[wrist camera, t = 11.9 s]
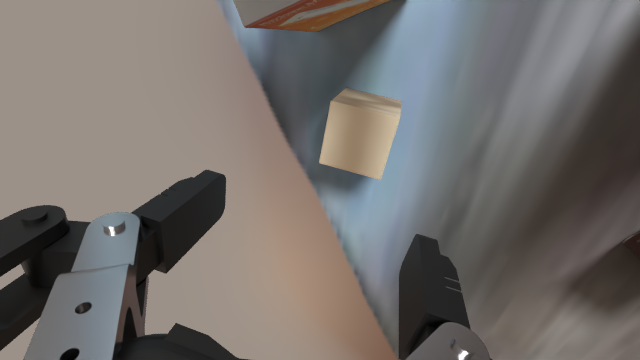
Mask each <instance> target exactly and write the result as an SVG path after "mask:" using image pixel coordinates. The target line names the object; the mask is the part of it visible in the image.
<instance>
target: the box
mask: <svg viewBox="0 0 640 360" xmlns="http://www.w3.org/2000/svg"><path fill="white" fill-rule="evenodd" d="M623 244H624V245H625V246H626V247H628V248H629V249H630V250H631V251H632V252H633V253H634V254H635V255H636V256H637V257H638V258H639V259H640V231H639V232H638V233H636V234H634V235H632V236H630V237H629V238H627V239H626V240H625V241H624V242H623Z"/></svg>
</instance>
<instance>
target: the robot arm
mask: <svg viewBox="0 0 640 360" xmlns="http://www.w3.org/2000/svg"><path fill="white" fill-rule="evenodd" d="M225 193H226V177H225V176H224V175H223V174H220V173H216V172H213V171H210V170H205V171H203V172H202V173H200V174H199V175H197V176H196V177H194V178H192V177H190V178H187V179H184V180H181V181H178V182H177V183H175V184H174V185H172V186H171V187H169V189H166V190H165V191H163V192H162V193H161V194H160V195H157V196H156V197H154V198H153V199H151V200H150V201H148V202H147V203H145V204H144V205H142V206H141V207H139V208H138V209H136V210H135V211H133V212H132V213H127V212H116V213H110V214H106V215H103V216H101V217H99V218H97V219H95V220H93V221H92V222H78V221H68V220H67V217H66V214H65V211H64V210H63V209H62V208H60V207H57V206H51V205H43V206H36V207H31V208H27V209H23V210H21V211H18V212H16V213H14V214H12V215H10V216H8V217H6V218H4V219H2V220H0V277H1V276H2V275H4V274H5V273H7V272H8V271H10V270H11V269H13V268H14V267H16V266H17V265H19V264H21V265H22V267H23V270H24V272H25V273H24V274H23V275H21V276H20V277H19V278H17V279H16V280H14V281H13V282H11V283H10V284H8V285H7V286H6V287H4V288H3V289H1V290H0V351H1V350H2V349H3V348H4V347H5V346H7V345H8V344H9V343H10V342H11V341H13V339H15V338H16V337H17V336H18V335H20V334H21V333H22V332H23V331H24V330H26V329H27V328H28V327H29V326H30V325H31V324H33V323H34V322H35V321H36V320H37V319H39V318H40V320H39V322H38V325H37V327H36V330H35V332H34V334H33V337H32V339H31V342H30V344H29V347H28V349H27V352H26V354H25V356H24V359H23V360H248V359H239V358H237V357H235V356H234V355H232V354H231V353H230V352H229V351H227V350H226V349H225V348H223V347H222V346H221V345H220V344H219V343H217V342H216V341H215V340H213V339H212V338H211V337H210V336H208V335H206V334H203V333H201V332H198V331H195V330H193V329H190V328H187V327H185V326H182V325H180V324H177V323H176V324H175V325H174V326H173V328H172V329H171V330H170V331H169V333H168V334H151V335H145V316H146V304H147V294H148V283H149V277H148V275H149V274H150V273H151V272H152V271H153V270H154V269H155V270H157V271H160V272H163V273H167V272H168V271H169V270H170V269H171V268H172V267H173V266H174V265H175V264H176V263H177V262H178V261H179V260H180V259H181V258H182V257H183V256H184V255H185V254H186V253H187V252H188V251H189V250H190V249H191V248H192V246H193V245H194V244H196V242H198V240H199V239H200V238H201V237H202V236H203V235H204V234H205V233H206V232H207V231H208V230H209V229H210V228H211V227H212V226H213V225H214V224H215V223H216V222H217V221H218V220H219V219H220V218H221V216H222V214H223V212H224V209H225ZM458 282H459V279H458V275H457V271H456V268H455V267H454V265H453V264H452V262H451V261H450V259H449V258H448V257H446V256H442V255H440V251H439V246H438V241H437V240H435V239H432V238H429V237H426V236H422V235H419V234H416V235H415V237H414V239H413V241H412V243H411V245H410V247H409V250H408V252H407V254H406V256H405V258H404V260H403V263H402V266H401V269H400V274H399V359H401V360H492V359H490V356H489V353H488V350H487V348H486V346H485V345H484V343H483V342H482V341H481V339H480V338H479V337H478V336H477V335H476V334H475V333H474V332H472V331H471V329H470V325H469V321H468V317H467V312H466V308H465V304H464V300H463V296H462V293H461V287H460V283H458Z"/></svg>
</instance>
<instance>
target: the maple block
mask: <svg viewBox="0 0 640 360" xmlns="http://www.w3.org/2000/svg"><path fill="white" fill-rule="evenodd" d="M400 115H401V101H400V100H396V99H392V98H387V97H383V96H379V95H374V94H370V93H366V92H362V91H357V90H353V89H349V88H345V89H344V90H343V91H342V92H340V93H339V94H338V95H337V96H336V97H335V98H334V99H332V100H331V103H330V108H329V113H328V118H327V124H326V129H325V134H324V139H323V145H322V150H321V155H320V160H319V163H321V164H324V165H328V166H332V167H335V168H339V169H343V170H346V171H350V172H353V173H357V174H361V175H364V176H368V177H371V178H375V179H379V180H381V177H382V174H383V171H384V168H385V164H386V161H387V158H388V155H389V152H390V149H391V145H392V142H393V139H394V136H395V133H396V130H397V127H398V123H399V120H400Z"/></svg>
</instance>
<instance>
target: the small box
mask: <svg viewBox="0 0 640 360" xmlns="http://www.w3.org/2000/svg"><path fill="white" fill-rule="evenodd" d="M233 1H234V3H235V6H236V8H237V10H238V13H239V16H240V18H241V21H242V24H243V26H244V27H245V28H265V29H280V30H297V31H310V32H318V31H320V30H322V29H324V28H326V27H328V26H331V25H333V24H335V23H337V22H339V21H342V20H344V19H347V18H349V17H351V16H354V15H356V14H358V13H360V12H363V11H365V10H368V9H370V8H373V7H375V6H378V5H380V4H383V3H385V2H388V1H390V0H233Z"/></svg>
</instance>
